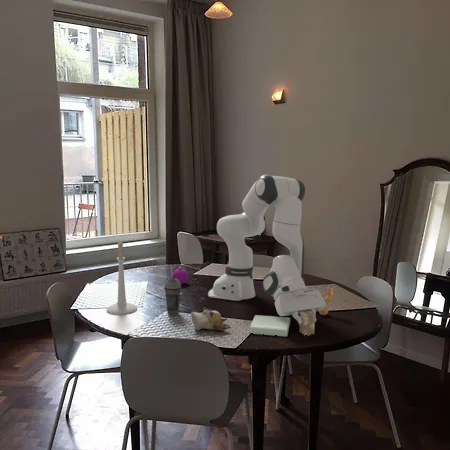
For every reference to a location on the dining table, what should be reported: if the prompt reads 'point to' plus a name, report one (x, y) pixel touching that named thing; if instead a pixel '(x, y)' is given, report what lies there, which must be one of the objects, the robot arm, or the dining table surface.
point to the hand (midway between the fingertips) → (308, 322)
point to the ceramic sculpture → (208, 320)
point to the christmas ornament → (180, 275)
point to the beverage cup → (173, 295)
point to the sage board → (270, 325)
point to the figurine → (329, 296)
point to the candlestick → (121, 290)
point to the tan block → (307, 323)
